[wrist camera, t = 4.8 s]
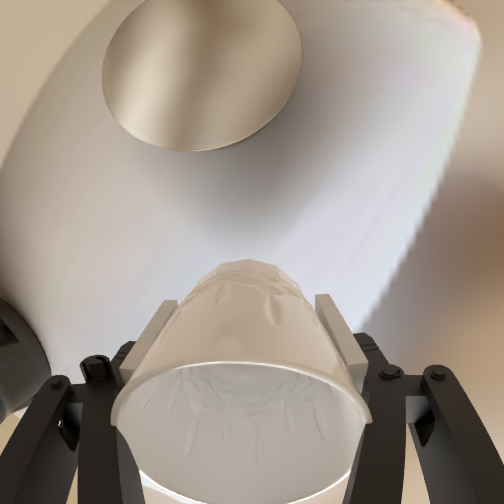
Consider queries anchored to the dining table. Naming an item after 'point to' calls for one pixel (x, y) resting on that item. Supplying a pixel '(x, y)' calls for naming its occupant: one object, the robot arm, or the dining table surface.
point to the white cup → (242, 395)
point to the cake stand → (201, 71)
